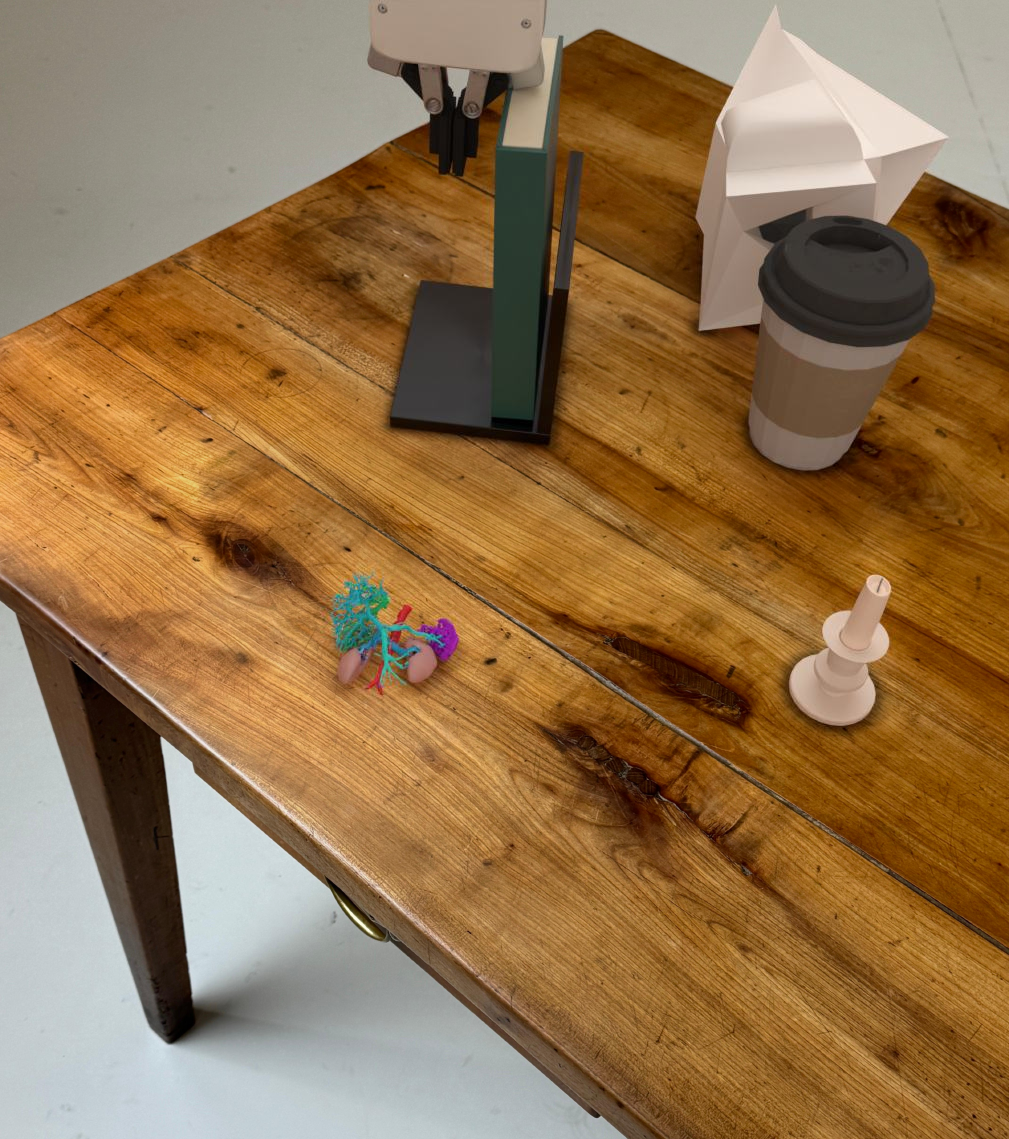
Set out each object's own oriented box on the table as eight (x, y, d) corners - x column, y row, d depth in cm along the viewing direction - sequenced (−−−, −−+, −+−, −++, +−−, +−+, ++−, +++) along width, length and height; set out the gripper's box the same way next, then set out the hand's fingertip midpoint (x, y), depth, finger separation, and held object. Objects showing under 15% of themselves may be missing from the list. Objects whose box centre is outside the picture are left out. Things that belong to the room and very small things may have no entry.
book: (495, 149, 74) (547, 152, 73) (517, 32, 82) (563, 35, 82) (490, 417, 89) (533, 420, 89) (509, 295, 98) (548, 298, 98)
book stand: (389, 427, 90) (388, 268, 80) (420, 290, 100) (423, 133, 89) (549, 445, 90) (569, 289, 79) (564, 306, 100) (584, 151, 89)
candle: (888, 688, 78) (945, 574, 70) (847, 741, 76) (902, 629, 68) (814, 644, 80) (862, 528, 72) (772, 695, 78) (817, 580, 69)
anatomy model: (436, 681, 71) (465, 583, 74) (297, 652, 71) (333, 556, 75) (438, 726, 75) (465, 631, 79) (307, 697, 76) (340, 605, 79)
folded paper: (757, 141, 84) (996, 159, 87) (682, -27, 98) (889, -6, 102) (690, 351, 97) (900, 360, 100) (632, 176, 112) (817, 189, 115)
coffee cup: (863, 390, 96) (929, 211, 84) (888, 497, 89) (963, 318, 77) (713, 380, 95) (757, 198, 84) (725, 487, 88) (776, 305, 77)
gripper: (606, -166, 70) (571, 145, 85) (336, -195, 70) (348, 121, 85) (599, -109, 66) (564, 210, 80) (310, -140, 66) (328, 184, 80)
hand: (453, 163), depth 83 cm, fingers closed
